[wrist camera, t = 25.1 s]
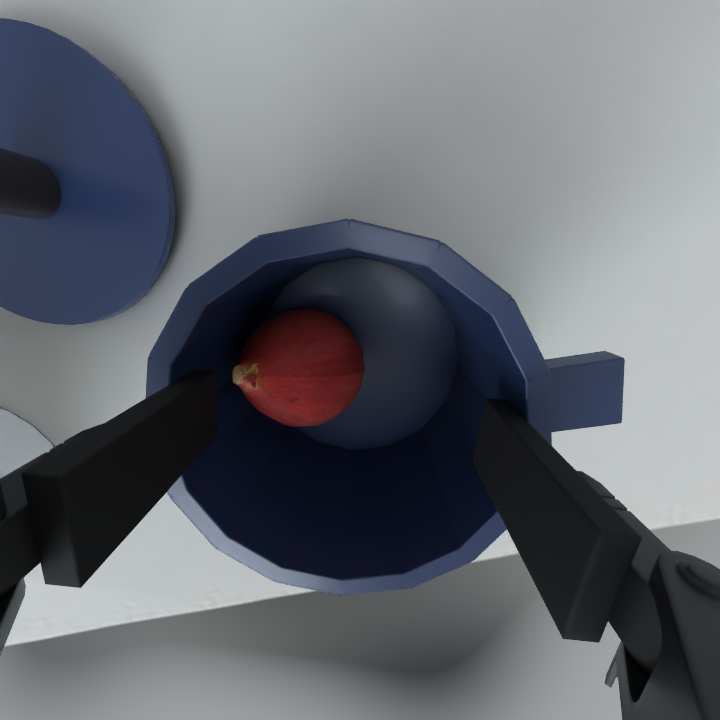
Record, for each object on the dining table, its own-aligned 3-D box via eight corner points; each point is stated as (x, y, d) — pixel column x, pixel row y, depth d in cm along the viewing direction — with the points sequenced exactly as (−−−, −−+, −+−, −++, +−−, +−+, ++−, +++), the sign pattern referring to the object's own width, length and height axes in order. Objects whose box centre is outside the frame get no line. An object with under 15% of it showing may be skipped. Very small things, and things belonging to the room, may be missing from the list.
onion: (333, 422, 21) (220, 472, 14) (295, 341, 22) (172, 351, 15) (408, 382, 18) (311, 419, 11) (360, 291, 19) (244, 273, 12)
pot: (180, 274, 20) (0, 283, 10) (506, 215, 18) (655, 161, 9) (240, 471, 23) (148, 615, 14) (516, 435, 22) (630, 568, 12)
